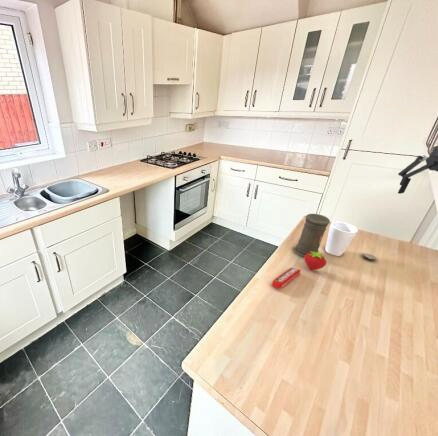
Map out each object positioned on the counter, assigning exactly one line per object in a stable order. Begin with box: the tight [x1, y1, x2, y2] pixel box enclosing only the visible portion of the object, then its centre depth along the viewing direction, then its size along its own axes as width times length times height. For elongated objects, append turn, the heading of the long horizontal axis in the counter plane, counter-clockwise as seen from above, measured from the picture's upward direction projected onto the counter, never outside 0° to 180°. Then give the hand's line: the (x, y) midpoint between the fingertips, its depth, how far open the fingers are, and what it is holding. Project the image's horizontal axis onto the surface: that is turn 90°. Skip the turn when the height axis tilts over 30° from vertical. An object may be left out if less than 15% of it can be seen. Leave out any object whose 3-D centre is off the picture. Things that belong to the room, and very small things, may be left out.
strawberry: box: [303, 251, 327, 272], centre depth 97 cm, size 6×8×10 cm
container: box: [294, 213, 331, 258], centre depth 105 cm, size 9×9×18 cm
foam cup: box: [324, 221, 359, 257], centre depth 107 cm, size 10×9×13 cm
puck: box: [362, 253, 377, 262], centre depth 105 cm, size 4×4×1 cm
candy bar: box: [270, 267, 301, 289], centre depth 94 cm, size 16×4×3 cm, turn 125°
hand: (420, 199), depth 99 cm, fingers open, 13 cm apart
